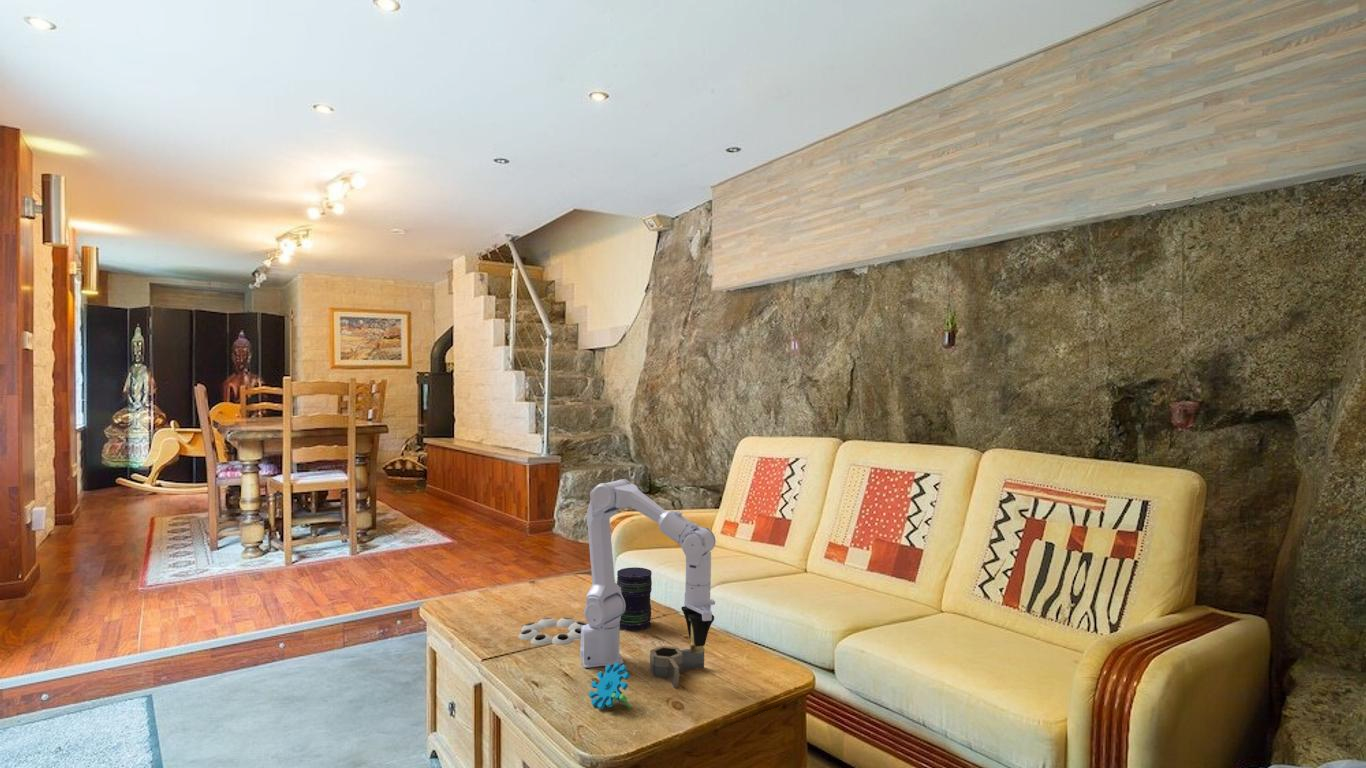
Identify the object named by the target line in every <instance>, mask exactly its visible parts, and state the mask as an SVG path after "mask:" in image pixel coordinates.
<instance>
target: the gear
mask: <svg viewBox="0 0 1366 768" xmlns="http://www.w3.org/2000/svg"><path fill="white" fill-rule="evenodd" d="M604 668H605V671H604V672H603V671H601V670H600V671H599V672H598V673H596V676H597V677H598V679H599V682H597V681H596V680H593V681H592V682H591V684H590V686H591V688H592V689H596V691H593V690H590V691H589V693H588V696H589V698H590V699H592V700H590V701H591V705H592V706H593V707H598V708H599V709H600V710H604V709H605V705H606V706H607V708H608V707H609V708H610V707H613V706H614V700H615V701H617V702H618V703H619V704H620V705H625V706H626V707H627V708H628V709H631V708H632V704H631V703H629V701H627V700H628V697H627V696H626V695H625V694H624V693H623V692H622V691H621V690H620V687H621V689H622V690H624V691H626V690H627V689H628V687H629V684H628V683H627V682H626V681H622V680H623V679H624V680H629V678H630V673H629V672H628V671H627V670H628V668H627V666H626V665H625V664H624V663H623V664H619V663H617V662H615V663H614V665H607V666H604ZM621 673H622V674H621Z"/></svg>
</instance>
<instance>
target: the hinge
mask: <svg viewBox="0 0 1366 768" xmlns="http://www.w3.org/2000/svg"><path fill="white" fill-rule="evenodd" d="M704 668H705V650H704V651H703V653H699V654H696V653H692V652H691V651H690V648H685V649H680V648H679V647H675V646H668V645H667V646H665V645H663V646H662V645H660V646H658V647H655V648H653V649H650V651H649V671H650V672H651V674H652V676H653V677H657V678H664V679H665V678H666V679H668V680H669V682H670V684H671V685H672V687H673V688H674V689H678V688H680V687H679V685H680V683H679V682H680V675H682V674H683V671H686V670H687V671H688V670H689V669H690V670H699V669H704Z"/></svg>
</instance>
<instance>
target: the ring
mask: <svg viewBox="0 0 1366 768" xmlns="http://www.w3.org/2000/svg"><path fill="white" fill-rule="evenodd" d="M587 624H588V623H586V622H584V621H576V620H575V619H573V618H571V617H562V618H560V619H559V620H556V619H554V618H553V617H547V618H546V617H545V618H541V619H540V620H538V622H535V621H534V622H533V621H532V622H529V623H525V624H524V625H523V626H522V628H521V629H520V631H521V632H520V633H519V634H518V635H517V637H518V639H520V640H521V641H530V644H532V645H534V646H547V645H550V644H553V645H556V646H566V645H570V644H572V643H574V641H575V640H581V633H578V632H581V626H583V625H587ZM553 627H558V628H567V629H568V630H567V631H569V632H568V633H559V634H556V635H554V636H553V637H552V636H550V635H549V634H547V633H540V632H541V631H542V630H544V629H545V628H546V629H547V628H549V629H550V628H553ZM543 628H544V629H543ZM536 638H538V639H536ZM539 638H541V639H540V640H539ZM559 638H566V639H559Z"/></svg>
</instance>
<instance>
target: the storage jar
mask: <svg viewBox="0 0 1366 768" xmlns="http://www.w3.org/2000/svg"><path fill="white" fill-rule="evenodd" d="M652 574H653V573H652V570H650V569H648V568H644V567H625V568H621V569H619V570H617V574H616V575H617V577H616V578H617V579H616V584H617V585H619V586H620V587H621V593H622V596H623V598H624V600H625V604H626V608H625V611H624V613H623V614H622V615H621V620H620V630H622V631H624V630H626V631H625V632H641V630H642V631H645V629H646V630H649V629H650V628H651V626H652V624H651V621H652V605H651V594H652V593H651V592H652V590H653V589H652V584H653V583H652V582H653V581H652Z"/></svg>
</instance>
